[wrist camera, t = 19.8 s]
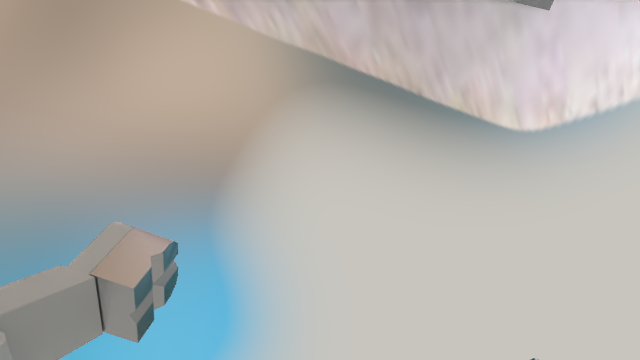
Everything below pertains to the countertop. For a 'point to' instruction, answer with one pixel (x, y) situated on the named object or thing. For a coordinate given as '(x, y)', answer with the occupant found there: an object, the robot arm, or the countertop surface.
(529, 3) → the gray bookend
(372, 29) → the countertop surface
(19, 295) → the robot arm
